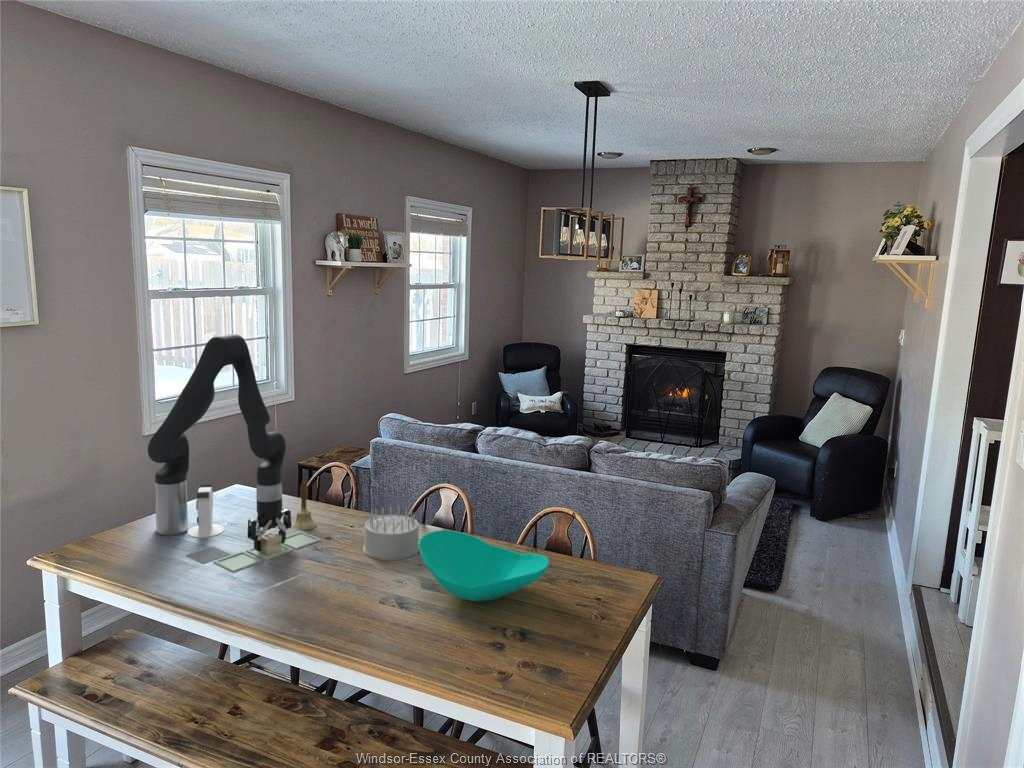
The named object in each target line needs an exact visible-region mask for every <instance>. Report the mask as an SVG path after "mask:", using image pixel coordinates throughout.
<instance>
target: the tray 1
mask: <svg viewBox="0 0 1024 768" xmlns="http://www.w3.org/2000/svg"><path fill="white" fill-rule="evenodd" d="M263 562H264V559H261V558H259V557H257V556H255V555H252V554H250V553H248V552H246V551H244V550H242V551H238V552H236V553H232V554H230V555H228V556H225V557H222V558H219V559H216V560H213V561H212V563H213V564H215V565H217V566H219V567H221V568H224V569H226V570H228V571H230V572H232V573H235V572H238V571H241V570H243V569H246V568H249V567H252V566H255V565H258V564H260V563H263Z"/></svg>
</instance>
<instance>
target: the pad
mask: <svg viewBox="0 0 1024 768" xmlns="http://www.w3.org/2000/svg"><path fill="white" fill-rule="evenodd" d="M230 555H231V554H230V553H228V552H226V551H224V550H222V549H220V548H217V547H215V546H210V547H207V548H204V549H201V550H198V551H195V552H191V553H189V554H186V555H185V556H186V557H187V558H189V559H191V560H193V561H196V562H198V563H200V564H202V565H204V564H208V563H210V562H213V561H215V560H218V559H221V558H224V557H227V556H230Z"/></svg>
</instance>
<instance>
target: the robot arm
mask: <svg viewBox="0 0 1024 768" xmlns="http://www.w3.org/2000/svg"><path fill="white" fill-rule="evenodd" d="M230 365H232V367H233V369H234V370H235V373H236V375H237V380H238V381H237V382H238V392H237V400H238V401H237V403H238V407H239V410H240V412H241V414H242V417H243V419H244V423H245V424H246V428H247V435H248V443H249V447H250V450H251V452H252V453H253V455H255V457H257V459H260V460H261V459H262V460H263V461H262V462H261V463H259V465H258V466H257V468H256V513H257V517H256V518H255V519H251V518H249V519H248V521H247V539H250V540H252V541H253V547H254V549H255V550H256V551H258V552H259V551H261V550H262V549H261V540H260V539H261V537H262V536H263V534H265V533H266V532H267V531H269V530H270V531H271V529H275V528H277V529H278V534H279V535H281V536H282V543H285V540H286V536H287V530H288V529H291V528H292V515H291V514H292V513H291V510H290V509H287V508H283V486H282V466H283V463H284V460H285V455H286V447H287V445H286V440H285V437H284V435H283V434H282V433H280V432H278V431H271V432H270V431H269V432H267V428H266V426H267V425H269V423H270V422H271V416H270V414H269V411H268V410H267V407H266V405H265V402H264V400H263V398H262V397H263V396H262V394H261V393H260V389H259V386H258V382H257V379H256V373H255V369H254V366H253V362H252V357H251V353H250V350H249V347H248V343H247V342H246V340H245V339H244V337H243V336H242V335H240V334H237V333H228V334H221V335H215V336H213V337H211V338H210V339H209V340H208V341H207V342H206V343H205V346H204V348H203V350H202V352H201V355H200V357H199V360H198V362H197V364H196V366H195V368H194V370H193V372H192V374H191V376H190V377H189V379H188V381H187V382H186V384H185V386H184V388H183V389H182V391H181V393H180V394H179V395H178V398H177V400H176V402H175V403H174V405H173V407H172V408H171V409H170V411H169V413H168V415H167V416H166V418H165V420H164V421H163V423H162V424H161V425H160V426H159V428H158V429H157V430H156V431H155V433H154V434H153V435H152V437H151V438H150V440H149V441H148V445H147V455H148V458H149V459H150V460H151V462H154V463H157V464H164V465H163V466H162V467H161V468H160V469H158V471H157V472H156V473H155V475H154V481H155V485H154V486H155V503H154V504H155V524H156V528H155V529H156V532H157V534H158V535H162V536H176V535H180V534H182V533H183V534H184V533H185V532H187V531H188V530H189V521H188V520H189V519H188V517H189V516H188V490H187V489H188V487H187V482H188V481H187V475H188V472H189V468H190V467H189V466H190V443H189V440H188V438H187V436H186V434H185V432H186V431H188V430H189V429H190V428H191V427H193V426H194V425H195V424H196V423H198V421H200V420H201V419H202V418H203V417H204V416H205V414H207V411H208V410H209V409H210V406H211V405H212V403H213V401H214V400H215V393H216V392H215V380H216V378H217V377H218V375H219V373H220V372H221V371H222V369H223V368H224V367H226V366H230ZM281 519H282V521H281Z"/></svg>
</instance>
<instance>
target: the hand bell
mask: <svg viewBox="0 0 1024 768" xmlns="http://www.w3.org/2000/svg"><path fill="white" fill-rule="evenodd" d="M308 494H309V488H308V485H307V481H305V480H303V481H302V482H301V484H300V488H299V495H300V498H301V499H300V500H301V503H300V510H297V512H296V517H295V520H294V522H293V523H291V528H293V529H295V530H313V529H315V528H317V523H316V522H315V521H314V520H313V518H312V512H311V510H310V509H307V497H308Z"/></svg>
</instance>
